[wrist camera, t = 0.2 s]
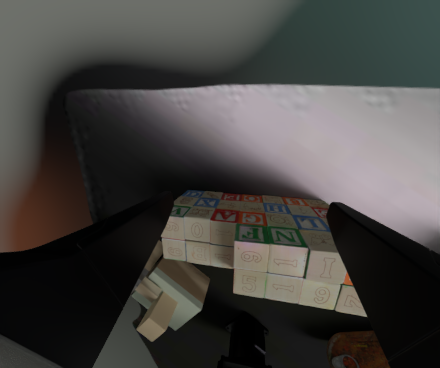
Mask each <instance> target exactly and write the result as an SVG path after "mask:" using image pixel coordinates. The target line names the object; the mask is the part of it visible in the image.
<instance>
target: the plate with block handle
mask: <svg viewBox="0 0 440 368" xmlns="http://www.w3.org/2000/svg"><path fill="white" fill-rule="evenodd" d="M147 278H148V279H149V280H150V281H152V282H153V283H154V284H155V285H157V286H158V287H159V288H160V289H162V291H161V292H160V294H159V296H158V297H157V298H156V299H155V300H154V301H153V302H152V303H151V302H150V301H149V300H147V299H146V298H145V297H143V296H142V295H141V294H140V293H138V292H137V291H136V290H135V292H134V293H133V294H132V297H133V298H134V299H135V300H137V301H138V302H139V303H141V304H142V305H143V306H144V307H146V308H147V309H148V311H147V313H146V314H145V316H144V318H143V319H142V321H141V323H140V324H139V326H138V328H137V329H136V330H137V331H139V332H140V333H141V334H143V335H144V336H145V337H146V338H148V339H149V340H150V341H152V342H153V341H154V340H155V339H156V338H157V337H159V336H160V335H161V334H162V333H164V332H165V331H166V329H167V327H168V325H169V326H170V327H171V328H173V329H174V330H175V331H176V330H177V329H178V328H179V327H181V326H182V325H183V324H185V323H186V322H187V321H188V320H190V319H191V318H192V317H193V316H195V315H196V314H197V313H198V312H200V311H201V310H202V306H203V304H202V303H201V302H200V301H199V300H197V299H196V298H195V297H194V296H192V295H191V294H190V293H189V292H187V291H186V290H185V289H184V288H182V287H181V286H180V285H179V284H177V283H176V282H175V281H174V280H172V279H171V278H170V277H169V276H167V275H166V274H165V273H164V272H162V271H161V270H160V269H159V268H157V267H156V268H155V269H154V270H153V271H152V273H151V274H150V275H149V276H148V277H147Z"/></svg>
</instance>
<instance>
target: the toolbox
mask: <svg viewBox="0 0 440 368" xmlns="http://www.w3.org/2000/svg"><path fill="white" fill-rule="evenodd" d="M162 254H163V246H162V242H161V241H160V240H159V241H158V242H157V244H156V246H155V248H154V250H153V252H152V254H151V256H150V258H149V260H148V262H147V264H146V265H145V267H144V269H143V271H142V273H141V275H140V277H139V279H138V281H137V283H136V285H135V287H134V288H133V290H132V292H133V291H134V290H135V289H136V288H137V287H138V285H139V284H140V283H141V281H142V280H143V279H144V277H145V276H146V275H147V276H146V277H148V276H149V275H150V274H151V273H152V271H153V270H154V269H155V268H156V267H157V268H159V269H160V270H161V271H162V272H164V273H165V274H166V275H167V276H169V277H170V278H171V279H172V280H174V281H175V282H176V283H177V284H179V285H180V286H181V287H182V288H184V289H185V290H186V291H187V292H189V293H190V294H191V295H192V296H194V297H195V298H196V299H197V300H199V301H200V302H201V303H202V304H203V303H204V299H205V296H206V292H207V289H208V285H209V282H210V278H209V277H207V276H206V275H205V274H204V273H202V272H201V271H200V270H199V269H197V268H196V267H195V266H194V265H192V264H191V263H190V262H187V261H179V260H173V259H165V258H164V256H163V257H162V258H161V259H160V260H159V261H158V262H157V260H158V259H159V258H160V256H161V255H162ZM156 262H157V264H156V265H155V266H154V264H155V263H156ZM153 266H154V267H153ZM152 267H153V268H152ZM151 268H152V269H151ZM150 270H151V271H150ZM149 271H150V272H149ZM148 272H149V273H148ZM132 292H131V293H132ZM130 295H131V294H130Z"/></svg>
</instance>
